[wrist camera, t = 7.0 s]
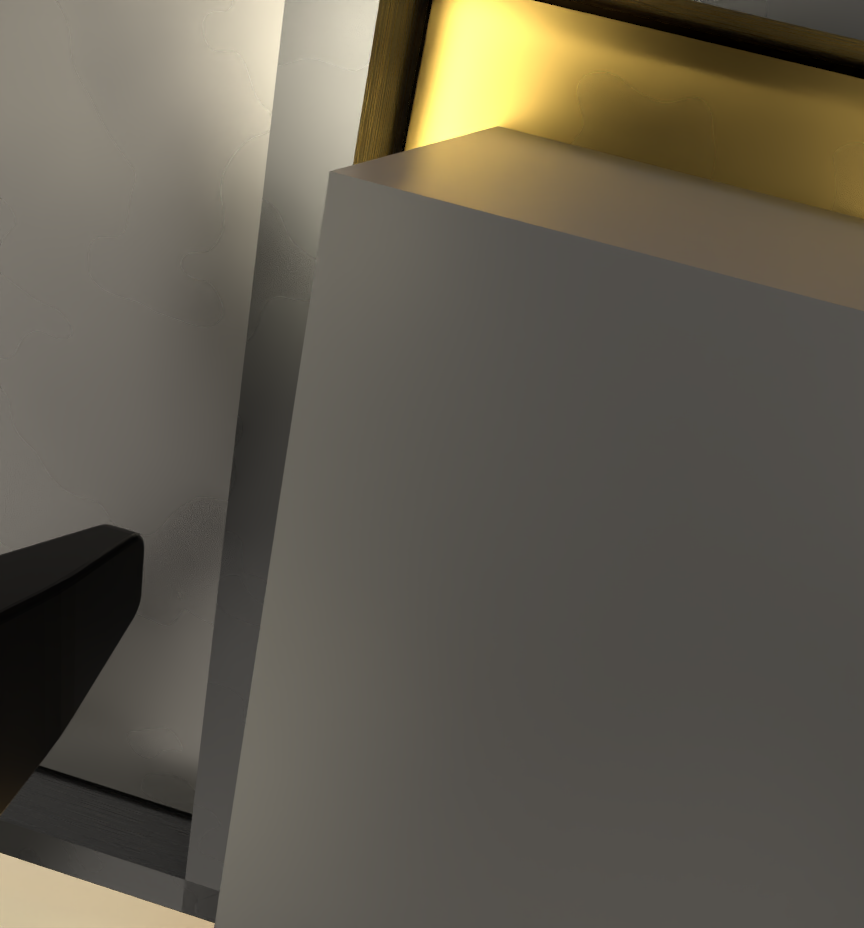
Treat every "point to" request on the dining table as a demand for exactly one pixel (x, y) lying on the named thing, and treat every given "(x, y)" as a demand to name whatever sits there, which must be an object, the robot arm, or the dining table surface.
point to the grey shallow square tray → (280, 305)
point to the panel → (563, 558)
